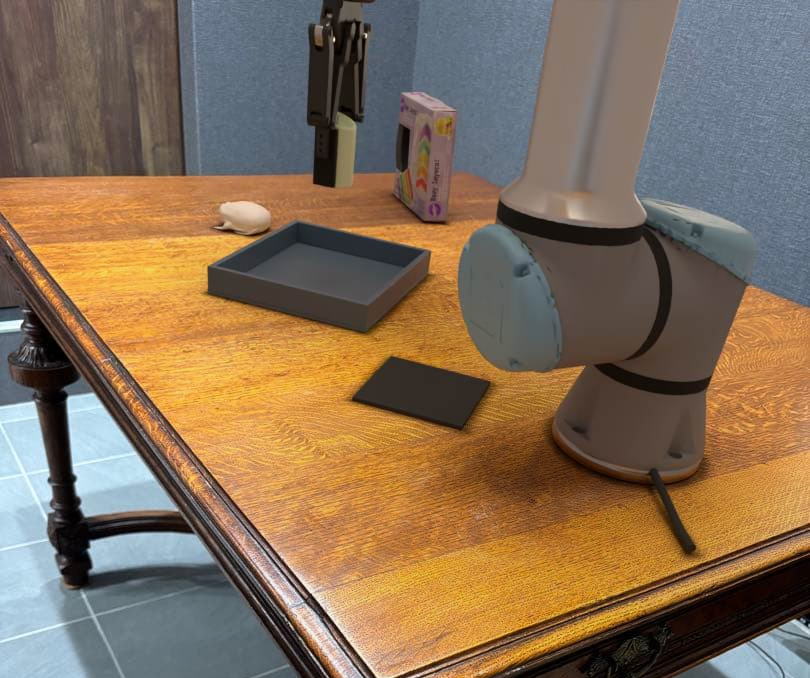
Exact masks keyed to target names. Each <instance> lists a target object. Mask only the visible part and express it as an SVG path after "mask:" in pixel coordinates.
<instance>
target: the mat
mask: <svg viewBox="0 0 810 678" xmlns="http://www.w3.org/2000/svg"><path fill="white" fill-rule="evenodd" d="M490 385H491V381H490V380H487V379H483V378H480V377H476V376H472V375H468V374H465V373H461V372H457V371H452V370H449V369H444V368H440V367H437V366H433V365H430V364H425V363H422V362H418V361H414V360H409V359H405V358H401V357H397V356H394V355H390V356H389V358H387V359H386V360H385V361H384V362H383V364H381V366H380V367H379V368H378V369H377V370H376V371H375V372H374V373H373V374H372V375H371V376H370V377H369V379H368V380H367V381H366V382H365V383H364V384H362V386H361V387H360V388H359V389H358V390H357V391H356V393H354V395H352V397H351V401H353V402H357V403H362V404H365V405H367V406H368V405H369V406H372V407H376V408H380V409H383V410H387V411H390V412H394V413H398V414H401V415H406V416H409V417H413V418H416V419H421V420H423V421H424V420H425V421H427V422H431V423H434V424H437V425H442V426H446V427H450V428H454V429H458V430H462V429H463V428H464V426H465V425H466V423H467V422H468V420H469V419H470V417H471V415H472V414H473V412H474V411H475V409H476V407H477V406H478V404H479V403H480V402H481V399H482V398H483V396H484V394H485V393H486V391H487V390H488V388H489V386H490Z"/></svg>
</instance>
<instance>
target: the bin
mask: <svg viewBox="0 0 810 678" xmlns="http://www.w3.org/2000/svg"><path fill="white" fill-rule="evenodd" d="M431 257H432V250H431V249H427V248H422V247H417V246H413V245H410V244H405V243H400V242H396V241H390V240H387V239H382V238H378V237H373V236H369V235H364V234H360V233H355V232H353V231H352V232H351V231H348V230H342V229H338V228H334V227H330V226H325V225H320V224H316V223H312V222H308V221H303V220H298V219H294V220H292V221H290V222H288V223H286V224H284V225H282V226H279V228H277V229H275V230H273V231H271V232H269V233H267V234H265V235H263V236H262V237H259V238H258V239H256V240H254V241H252V242H250V243H248V244H246V245H245V246H242V247H241V248H239V249H237V250H235V251H233V252H231V253H229V254H227V255H226V256H224V257H222V258H220V259H218V260H216V261H214V262H212V263H210V264H208V265H207V266H206V270H207V294H208V295H209V294H210V295H214V296H216V297H217V296H218V297H222V298H226V299H230V300H233V301H238V302H242V303H246V304H250V305H254V306H257V307H261V308H265V309H270V310H273V311H277V312H281V313H284V314H288V315H292V316H296V317H299V318H300V317H301V318H305V319H309V320H313V321H315V322H321V323H324V324H327V325H328V324H329V325H332V326H336V327H341V328H344V329H348V330H352V331H355V332H360V333H364V334H366V333H367V332H368V331H370V329H372V327H374V325H375V324H377V322H379V321H380V320H381V319H383V317H384V316H386V314H387V313H389V312H390V311H391V310H392V309H393V308H394V307H395V306H396V305H397V304H398V303H399V302H400V301H401V300H403V299H404V298H405V297H406V296H407V295H408V294H409V293H410V292H411V291H412V290H414V289H415V288H416V286H417V285H419V284H420V283H421V282H422V281H423V280H424V279H425V278H426V277H427V276H429V272H430V265H431Z"/></svg>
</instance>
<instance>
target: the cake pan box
mask: <svg viewBox="0 0 810 678" xmlns="http://www.w3.org/2000/svg"><path fill="white" fill-rule="evenodd" d="M398 109H399V112H398V128H397V132H396V142H395V143H396V144H395V166H396V167H395V171H394V172H395V174H394V185H393V195H394V196H395V197H396V198H397V199H398V200H399V201H401V202H402V203H403V204H404V205H405V206H406V207H407V208H408V209H410V211H412V212H413V213H414V214H415V215H416V216H418V217H419V219H420V220H422V221H424V222H436V223H447V220H448V211H449V201H450V194H451V183H452V176H453V175H452V173H453V165H454V156H455V146H456V145H455V144H456V135H457V126H458V116H459V112H458V110H457V109H454V108H453V107H451V106H448V105H446V104H445V103H444V102H443V101H442V100H440V99H438V98H435V97H432V96H430V95H429V94H427V93H425V92H423V91H408V92H400V98H399V108H398Z"/></svg>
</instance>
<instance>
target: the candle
mask: <svg viewBox="0 0 810 678" xmlns="http://www.w3.org/2000/svg"><path fill="white" fill-rule="evenodd" d="M355 123H356V122H354V121H353V120H352V119H350V118H349V117H348V116H346V115H344V114H342V113H340V112H338V111H337V117H336V124H335V128H334V129H339V130H338V147H337V165H336V182H335V187H334V188H333V189H348V188H349V189H350V188H351V187H352V186H353V183H354V169H355V168H354V167H355V155H356V144H357V143H356V141H357V130H358V129H357V123H356V124H355ZM323 187H325V186H323ZM325 188H326V187H325ZM328 188H330V187H328ZM330 189H331V188H330Z"/></svg>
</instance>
